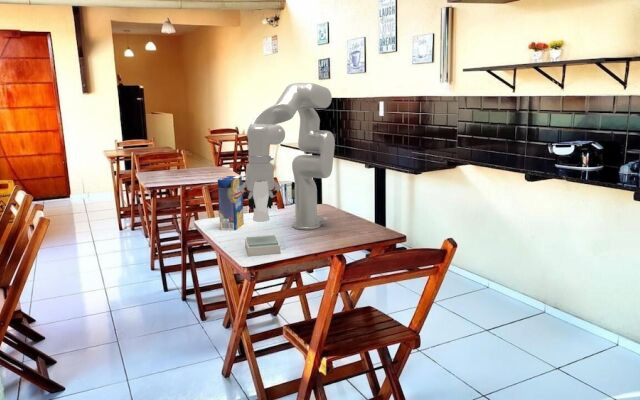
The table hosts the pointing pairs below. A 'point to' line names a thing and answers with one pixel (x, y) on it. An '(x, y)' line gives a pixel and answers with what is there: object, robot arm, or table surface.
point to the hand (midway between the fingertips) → (260, 207)
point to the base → (262, 245)
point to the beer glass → (260, 201)
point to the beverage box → (230, 202)
